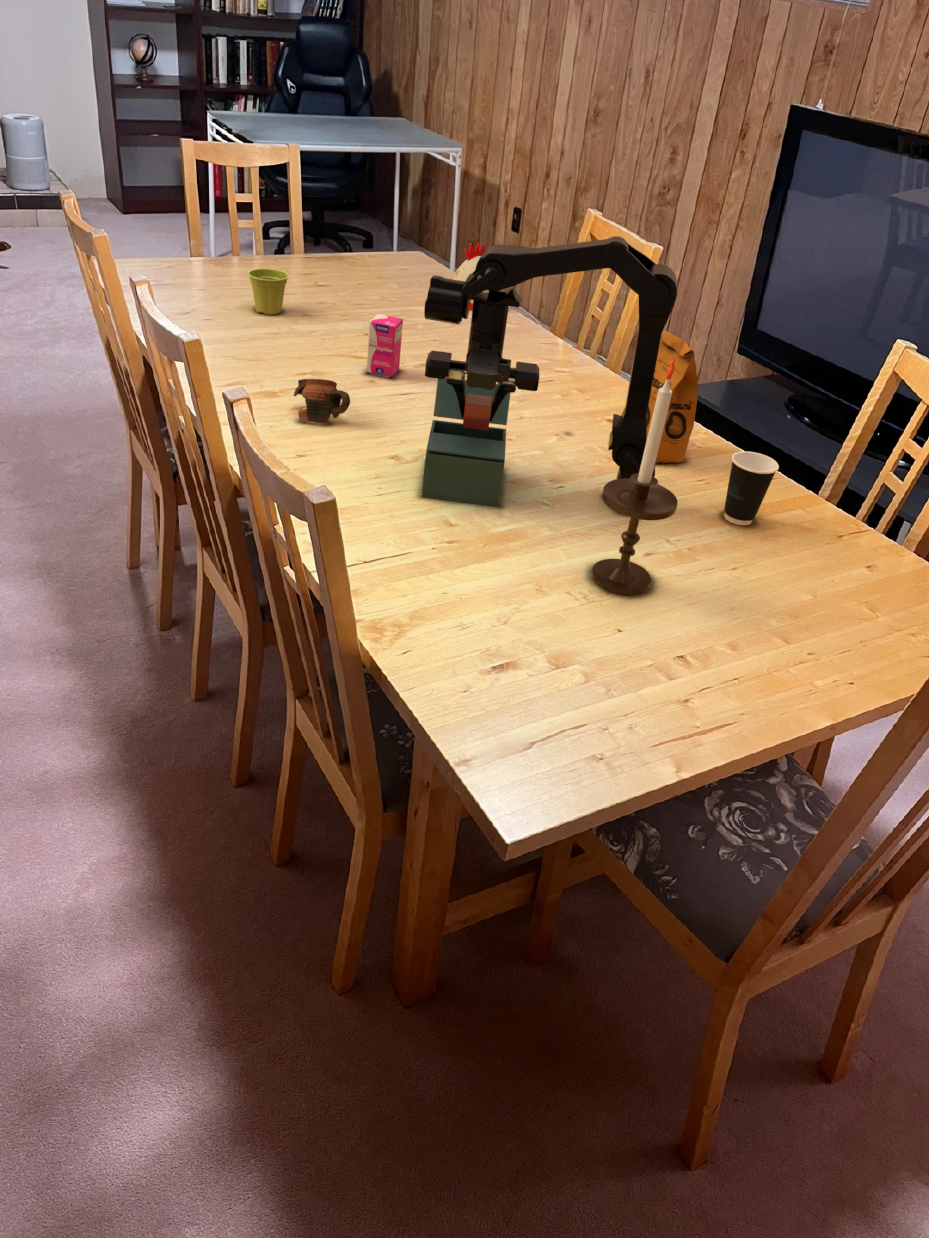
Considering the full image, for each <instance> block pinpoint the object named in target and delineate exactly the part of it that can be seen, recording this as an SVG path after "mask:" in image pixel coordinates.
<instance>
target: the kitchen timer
mask: <svg viewBox="0 0 929 1238" xmlns="http://www.w3.org/2000/svg"><path fill="white" fill-rule="evenodd" d="M485 250H486V243H485V242H482V244H481V247H480V243H479V242H476V245H475V249H474V246H473V244H472V243H471V242H470V243H469V248H468V250H467V248H466V247H464V248H463V251H464V254H465V256H466V259H465V260H464V261H463V262H462V263H461V264H460V266H459V267H458V268H457V270H456V271H455V273H454V275H453V278H452V279H453V280H459V281H466V279H467V278H468V276H469V274H472V273H473V272H474V271H475V268H476V265H477V262H478V261H479V259H480V257H481V256H482V254H483V253H484V251H485ZM500 291H502V290H500ZM483 293H489V290H485V291H483ZM473 301H474V300H471V302H470V310H471V311H472V310H473ZM470 310H469V311H470Z"/></svg>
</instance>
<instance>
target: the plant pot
mask: <svg viewBox="0 0 929 1238" xmlns="http://www.w3.org/2000/svg"><path fill="white" fill-rule="evenodd" d="M247 276H248V277H249V281H250V284H251V289H252V295H253V302H254V309H255V312H257V313H263V314H264V315H278V314H279V313H282V311H283V304H284V295H285V289H286V284H287V282H288V279H289V278H290V275H289V273H287V272H285V271H283V270H279V269H274V268H254V269H251V270H248V271H247Z"/></svg>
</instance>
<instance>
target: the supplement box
mask: <svg viewBox="0 0 929 1238" xmlns="http://www.w3.org/2000/svg"><path fill="white" fill-rule="evenodd" d="M403 326H404V318H400V317H396V316H391V315H387V314H380V313H377V314H376V315H375V316H374V317H373V318H372V319H371V320H370V321H369V325H368V341H367V354H366V355H367V356H366V372H365V373H366V374H368V375H372V376H378V377H383V378H387V379H393V377H394V376H395V375H396V374H397V373H398V372H399V371H400V362H401V351H402V349H401V348H402V339H403Z"/></svg>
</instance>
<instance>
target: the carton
mask: <svg viewBox="0 0 929 1238" xmlns="http://www.w3.org/2000/svg"><path fill="white" fill-rule="evenodd" d="M506 439H507V428H502V427H495V426H494V427H493V426H489V429H488V431H485V430H477V429H470V428H463V422H462V423H461V422H455V421H446V420H439V419H432V422H431V427H430V431H429V436H428V440H427V445H426V451H425V458H424V467H423V477H422V478H423V480H422V487H421V489H422V490H421V497H422V498H431V499H438V500H446V501H453V502H463V503H469V504H478V505H485V506H494V507H499V503H500V498H501V497H500V496H501V490H502V483H503V476H504V469H505V462H506V445H507V441H506Z"/></svg>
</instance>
